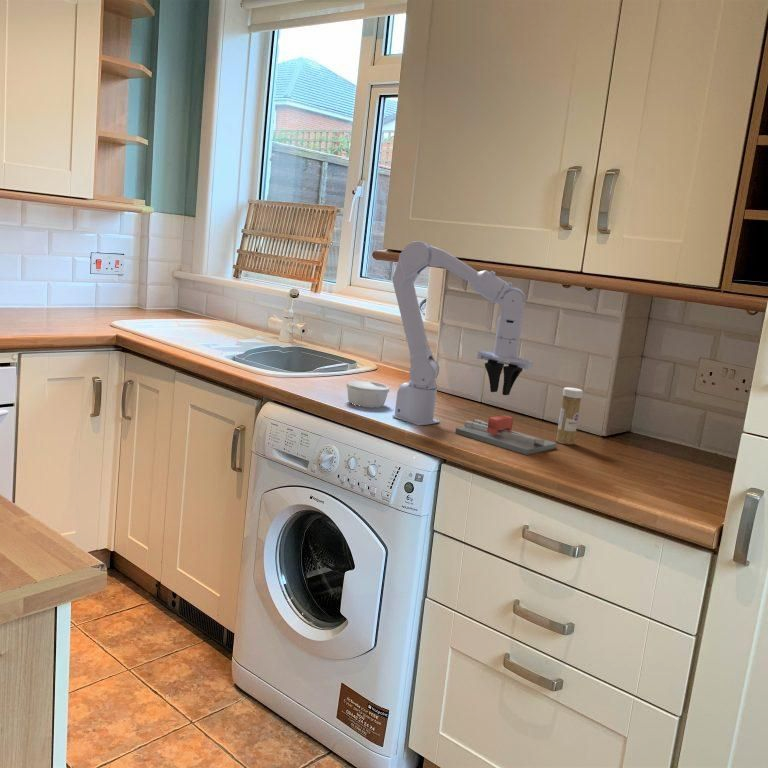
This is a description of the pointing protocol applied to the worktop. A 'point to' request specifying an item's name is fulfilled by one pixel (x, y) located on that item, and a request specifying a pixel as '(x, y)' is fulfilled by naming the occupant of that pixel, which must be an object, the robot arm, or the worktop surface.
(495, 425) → the red block
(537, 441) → the tongs
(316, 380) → the worktop surface
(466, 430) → the slate board
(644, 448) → the worktop surface
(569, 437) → the sprinkles bottle
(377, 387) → the ramekin
